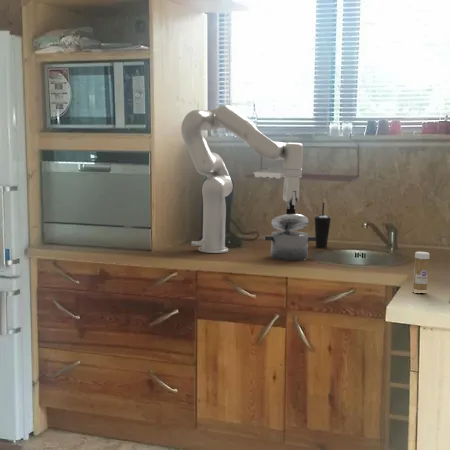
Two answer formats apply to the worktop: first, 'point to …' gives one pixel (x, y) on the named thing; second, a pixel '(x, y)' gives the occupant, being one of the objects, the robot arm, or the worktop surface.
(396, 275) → the worktop surface
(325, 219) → the drinking cup
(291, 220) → the lid
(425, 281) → the sprinkles bottle
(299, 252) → the cooker pot
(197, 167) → the robot arm
